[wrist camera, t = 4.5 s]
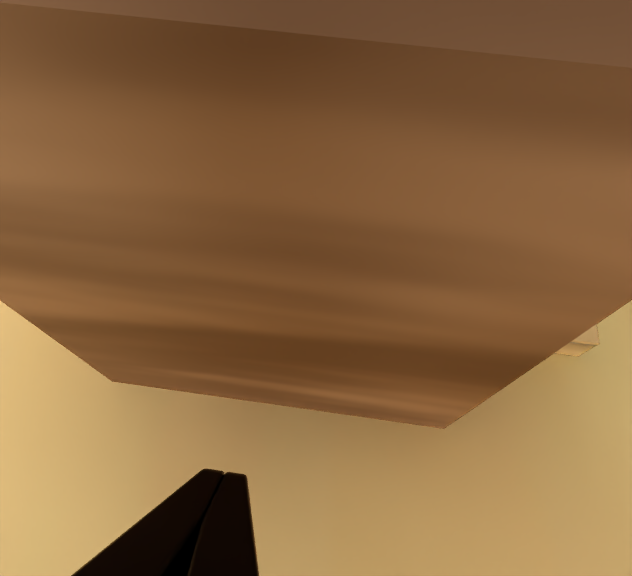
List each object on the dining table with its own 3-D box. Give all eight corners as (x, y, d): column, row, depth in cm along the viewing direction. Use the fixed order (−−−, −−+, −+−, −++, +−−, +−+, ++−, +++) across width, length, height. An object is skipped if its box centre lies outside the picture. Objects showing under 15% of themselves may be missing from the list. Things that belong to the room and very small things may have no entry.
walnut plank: (444, 428, 16) (925, 97, 4) (112, 381, 17) (-480, -47, 4) (444, 348, 17) (793, -95, 5) (137, 307, 18) (-248, -185, 5)
